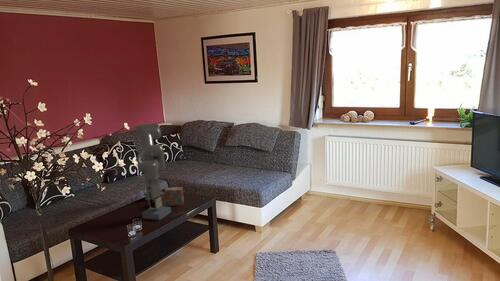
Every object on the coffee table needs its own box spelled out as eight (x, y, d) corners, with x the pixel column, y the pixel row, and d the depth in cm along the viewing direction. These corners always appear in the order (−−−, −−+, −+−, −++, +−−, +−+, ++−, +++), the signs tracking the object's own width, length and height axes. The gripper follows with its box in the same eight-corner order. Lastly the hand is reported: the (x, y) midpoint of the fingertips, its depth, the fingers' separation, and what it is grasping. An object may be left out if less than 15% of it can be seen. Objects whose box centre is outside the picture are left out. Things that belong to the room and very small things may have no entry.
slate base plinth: (142, 218, 260) (141, 212, 259) (154, 210, 272) (154, 205, 272) (159, 220, 254) (158, 214, 254) (171, 212, 267) (170, 207, 266)
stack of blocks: (154, 206, 281) (152, 191, 279) (156, 203, 287) (154, 188, 285) (182, 205, 280) (181, 189, 278) (184, 202, 286) (182, 186, 284)
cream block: (149, 207, 260) (148, 199, 259) (154, 204, 266) (154, 196, 265) (156, 208, 258) (155, 200, 257) (162, 205, 264) (161, 197, 262)
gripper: (149, 184, 249) (152, 210, 253) (164, 177, 265) (167, 201, 268) (140, 184, 252) (143, 209, 255) (155, 176, 268) (158, 201, 271)
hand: (155, 205), depth 262 cm, fingers closed on cream block, 6 cm apart
